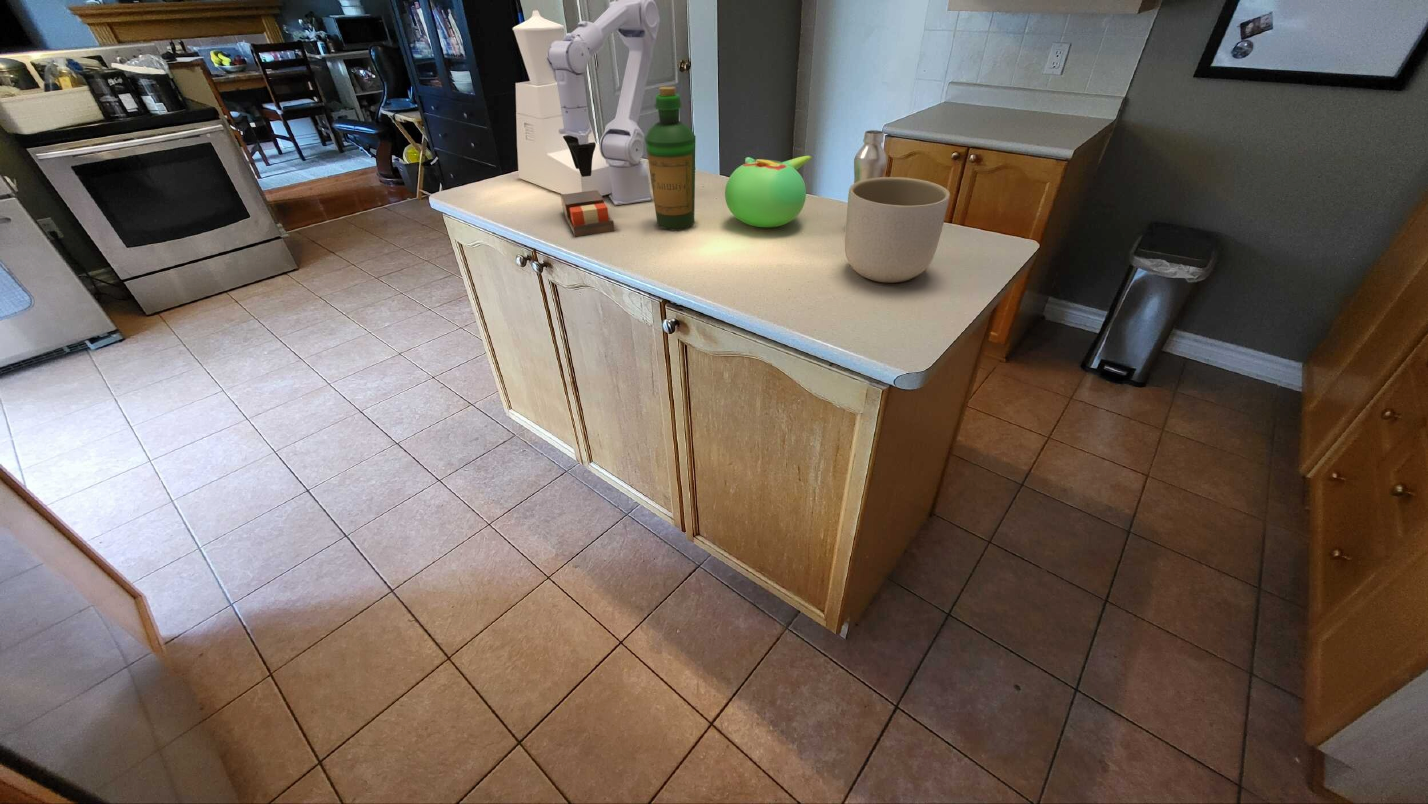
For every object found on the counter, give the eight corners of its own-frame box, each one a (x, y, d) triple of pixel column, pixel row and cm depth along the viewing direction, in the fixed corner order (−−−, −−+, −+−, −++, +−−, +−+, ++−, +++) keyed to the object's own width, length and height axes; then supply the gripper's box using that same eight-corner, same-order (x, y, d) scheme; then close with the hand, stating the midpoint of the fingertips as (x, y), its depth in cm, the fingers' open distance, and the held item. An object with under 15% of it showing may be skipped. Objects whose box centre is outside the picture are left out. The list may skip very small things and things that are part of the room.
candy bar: (606, 216, 132) (604, 202, 130) (609, 221, 130) (607, 207, 128) (571, 221, 130) (569, 207, 128) (574, 226, 128) (571, 212, 126)
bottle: (643, 228, 130) (630, 90, 113) (668, 214, 137) (658, 82, 120) (684, 236, 126) (676, 93, 109) (707, 220, 133) (703, 85, 116)
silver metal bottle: (877, 235, 123) (892, 136, 111) (845, 234, 124) (857, 135, 112) (876, 225, 128) (891, 129, 116) (846, 223, 129) (857, 128, 117)
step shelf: (599, 208, 142) (597, 190, 139) (614, 230, 129) (612, 211, 126) (563, 213, 140) (560, 194, 137) (575, 236, 127) (571, 216, 124)
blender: (640, 187, 155) (622, 10, 131) (583, 204, 145) (552, 15, 121) (573, 166, 174) (547, 7, 150) (519, 179, 164) (481, 12, 140)
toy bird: (714, 231, 128) (712, 162, 119) (743, 208, 140) (743, 144, 131) (790, 242, 121) (794, 170, 112) (813, 217, 133) (819, 150, 125)
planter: (874, 247, 118) (886, 171, 109) (949, 272, 108) (969, 190, 98) (821, 271, 109) (829, 191, 100) (897, 301, 99) (914, 213, 90)
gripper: (550, 102, 127) (561, 166, 135) (560, 113, 116) (570, 181, 124) (582, 100, 129) (590, 163, 137) (594, 110, 118) (602, 178, 126)
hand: (583, 172), depth 131 cm, fingers open, 7 cm apart
